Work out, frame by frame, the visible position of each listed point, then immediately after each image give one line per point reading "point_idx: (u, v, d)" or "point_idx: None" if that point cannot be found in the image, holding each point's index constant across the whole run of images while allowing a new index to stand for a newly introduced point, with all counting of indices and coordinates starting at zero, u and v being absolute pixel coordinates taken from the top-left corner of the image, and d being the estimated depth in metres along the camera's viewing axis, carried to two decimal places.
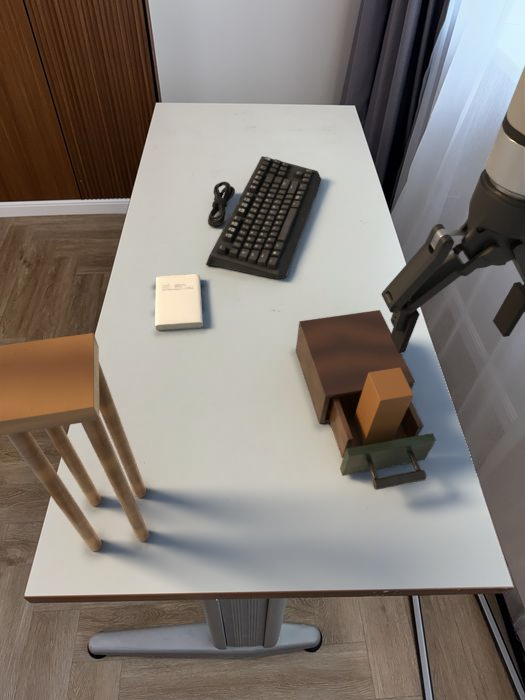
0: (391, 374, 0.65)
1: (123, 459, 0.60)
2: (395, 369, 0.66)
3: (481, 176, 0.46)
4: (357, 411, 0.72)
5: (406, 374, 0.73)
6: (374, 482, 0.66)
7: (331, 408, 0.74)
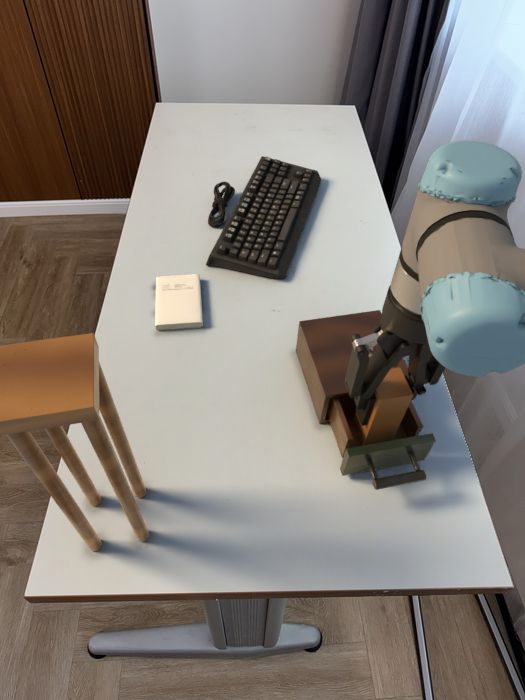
0: (391, 374, 0.65)
1: (123, 459, 0.60)
2: (395, 369, 0.66)
3: (389, 289, 0.53)
4: None
5: (406, 374, 0.73)
6: (374, 482, 0.66)
7: (331, 408, 0.74)
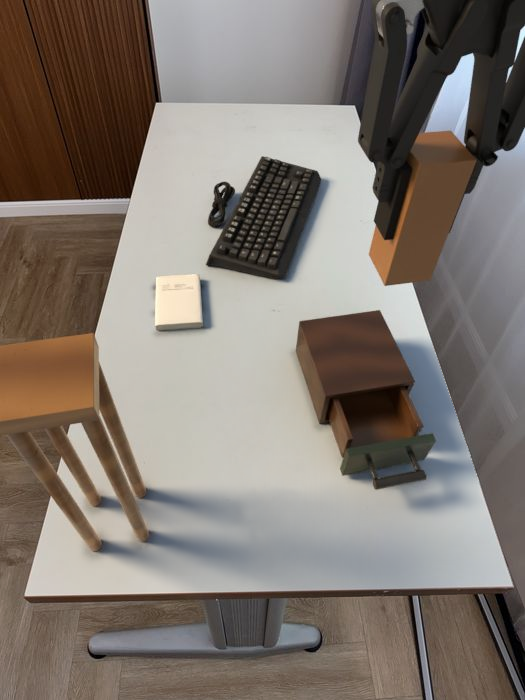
0: (436, 137, 0.39)
1: (123, 459, 0.60)
2: (443, 132, 0.39)
3: None
4: (376, 230, 0.46)
5: (406, 374, 0.73)
6: (374, 482, 0.66)
7: (331, 408, 0.74)
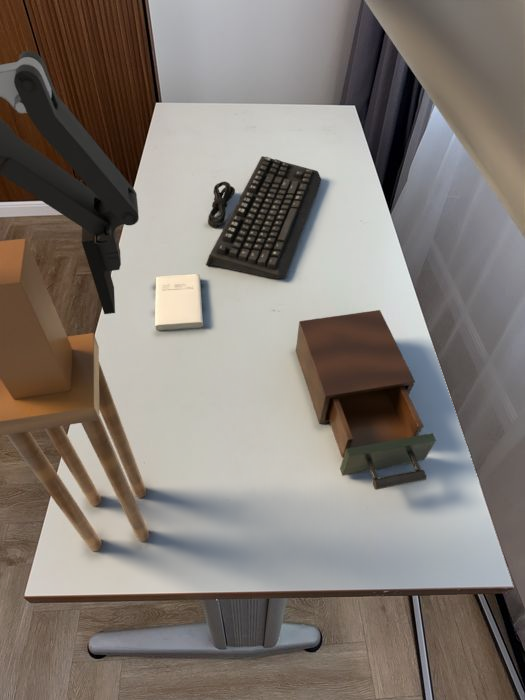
0: None
1: (123, 459, 0.60)
2: (13, 241, 0.34)
3: None
4: None
5: (406, 374, 0.73)
6: (374, 482, 0.66)
7: (331, 408, 0.74)
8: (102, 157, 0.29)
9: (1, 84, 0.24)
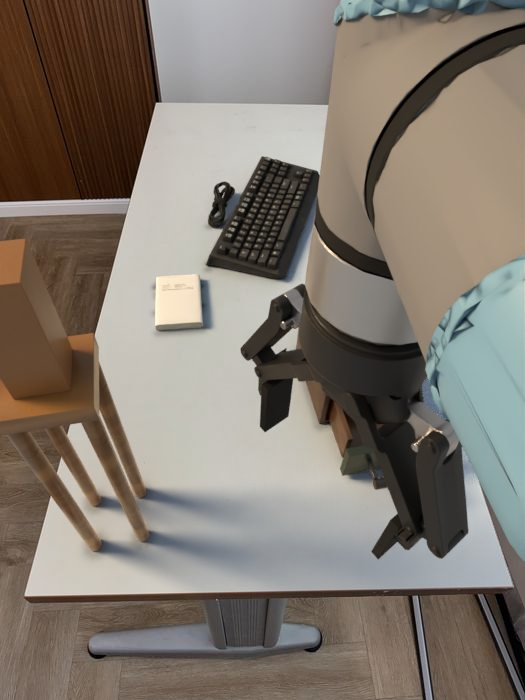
0: None
1: (123, 459, 0.60)
2: (13, 241, 0.34)
3: None
4: None
5: None
6: (374, 482, 0.66)
7: (331, 408, 0.74)
8: (456, 503, 0.29)
9: (418, 424, 0.27)
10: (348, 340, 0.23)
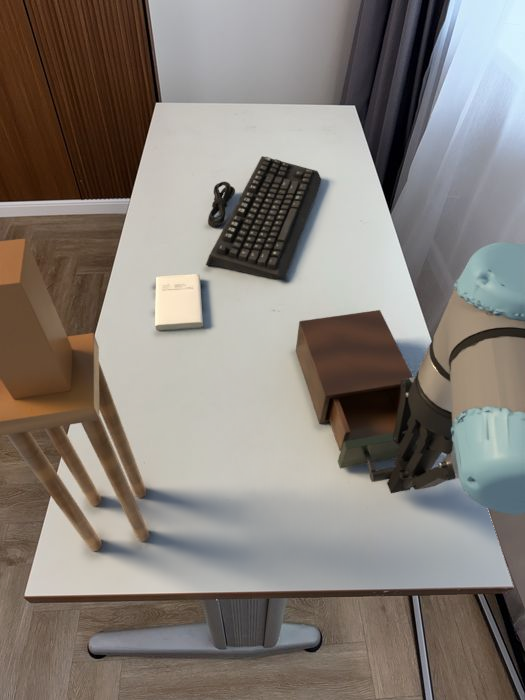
0: None
1: (123, 459, 0.60)
2: (13, 241, 0.34)
3: None
4: None
5: (406, 374, 0.73)
6: (371, 474, 0.66)
7: (329, 402, 0.74)
8: (439, 482, 0.56)
9: (449, 459, 0.51)
10: (429, 401, 0.48)
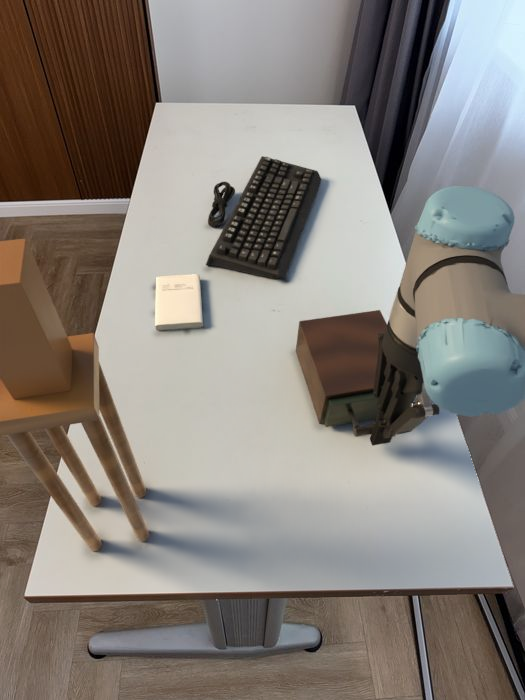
0: None
1: (123, 459, 0.60)
2: (13, 241, 0.34)
3: None
4: None
5: None
6: (354, 429, 0.71)
7: None
8: (413, 425, 0.61)
9: (420, 399, 0.56)
10: (399, 341, 0.53)
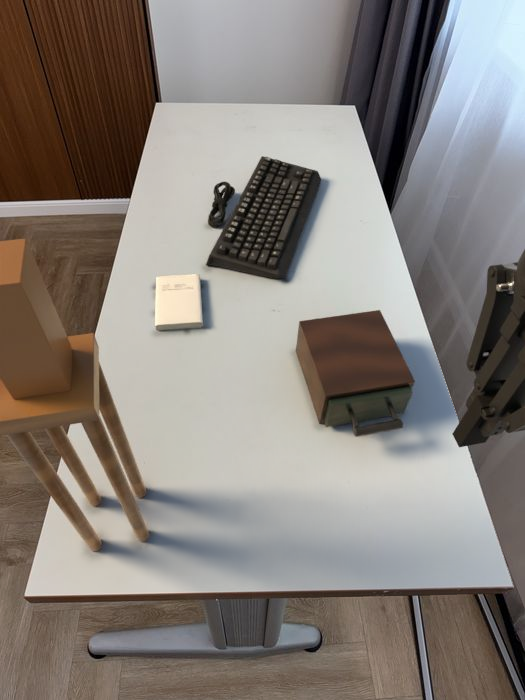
0: None
1: (123, 459, 0.60)
2: (13, 241, 0.34)
3: None
4: None
5: (406, 374, 0.73)
6: (354, 429, 0.71)
7: None
8: None
9: None
10: None
